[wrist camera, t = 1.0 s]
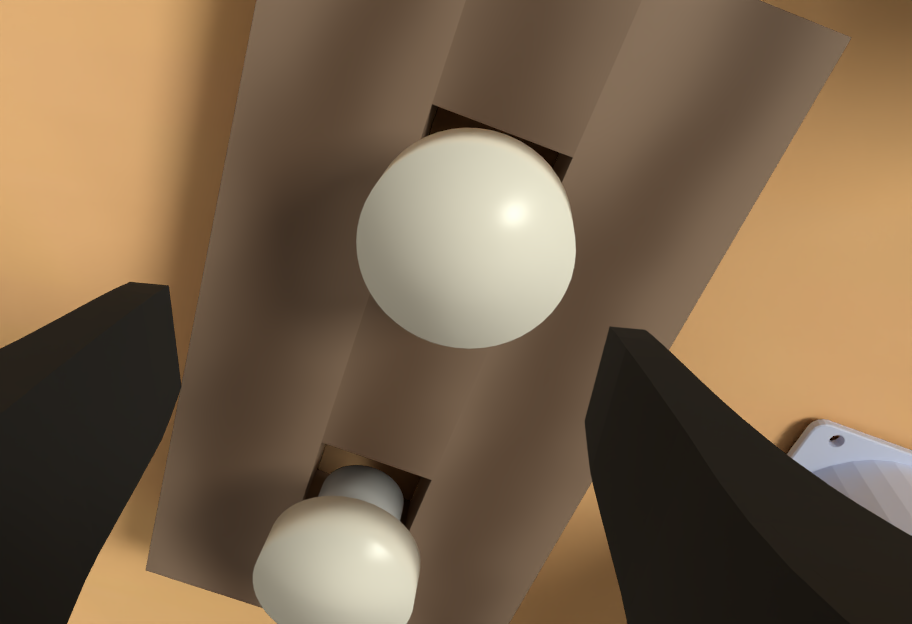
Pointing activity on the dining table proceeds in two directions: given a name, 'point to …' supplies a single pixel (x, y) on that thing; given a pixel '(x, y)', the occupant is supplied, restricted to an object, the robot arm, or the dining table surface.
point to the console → (426, 363)
